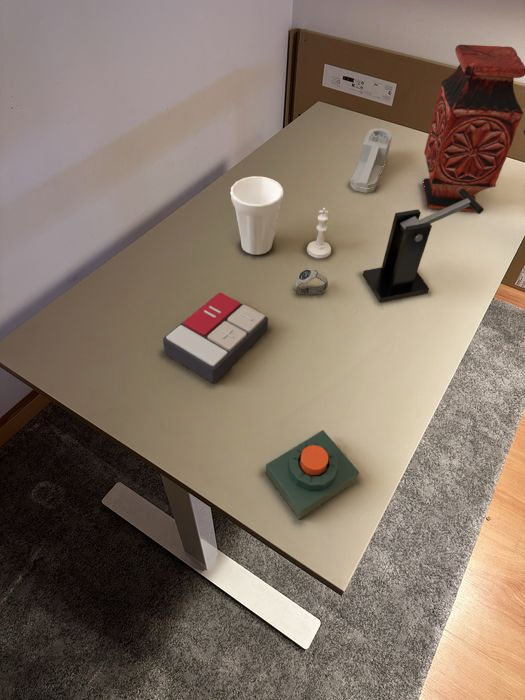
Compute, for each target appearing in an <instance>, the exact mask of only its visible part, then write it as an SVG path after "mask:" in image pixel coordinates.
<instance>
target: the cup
mask: <svg viewBox="0 0 525 700" xmlns="http://www.w3.org/2000/svg"><path fill="white" fill-rule="evenodd" d="M230 199H231V200H230V201H231V203H232V205H233V207H234V210H235V214H236V220H237V225H238V232H239V238H240V242H241V244H240V245H241V249H242V250H243V251H244V252H245V253H247V254H250V255H255V256H256V255H257V256H260V255H263V254H266V253H267V252H270V250H271V249H272V247H273V243H274V238H275V233H276V229H277V225H278V220H279V215H280V210H281V206H282V203H283V199H284V188H283V186H282V185H281V183H279V181H276V180H274V179H273V178H269V177H266V176H258V175H257V176H256V175H253V176H248V177H243V178H241V179H239V180H237V181H235V182H234V183H233V185H232V186H231V187H230Z"/></svg>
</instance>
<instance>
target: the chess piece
mask: <svg viewBox="0 0 525 700" xmlns="http://www.w3.org/2000/svg"><path fill="white" fill-rule="evenodd" d="M318 214H319V215H317V220H318V224H317V225H316V227H315V229H316V230H317V232H318V233H317V237H316V240H313V241H311V242H309V243H308V245H307V247H306V253H307V254H308V255H309V256H310V257H312V258H316V259H323V258H327V257H329V256H330V255H331V253H332V247H331V245H330V244H329V243H328V242H326V241H325V232H326V231H327V230H328V226H327V223H328V220H329V216H328V215H329V210H326V207H322V210H319V211H318Z"/></svg>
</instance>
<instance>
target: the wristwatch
mask: <svg viewBox="0 0 525 700" xmlns="http://www.w3.org/2000/svg"><path fill="white" fill-rule="evenodd" d="M314 279H318V280H319V281H321V282H323V283H324V284H322V285H318V286H311V287H310V286H307V287H305V288H303V287H299V286H300V285H308V284H309V283H310V282H312V281H313V280H314ZM328 288H329V280H328V277H326V276H325V275H322V273H320V272H319V271H318V270H317V269H315V268H306V269H304V270H302V271H300V273H299V274H298V275H297V278H296V280H295V283H294V289H295V291H296V293H297V294H299V295H300V296H301V295H302V296H303V295H309V296H311V295H312V296H314V295H321V294H323V293H324V292H326V290H327V289H328Z"/></svg>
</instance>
